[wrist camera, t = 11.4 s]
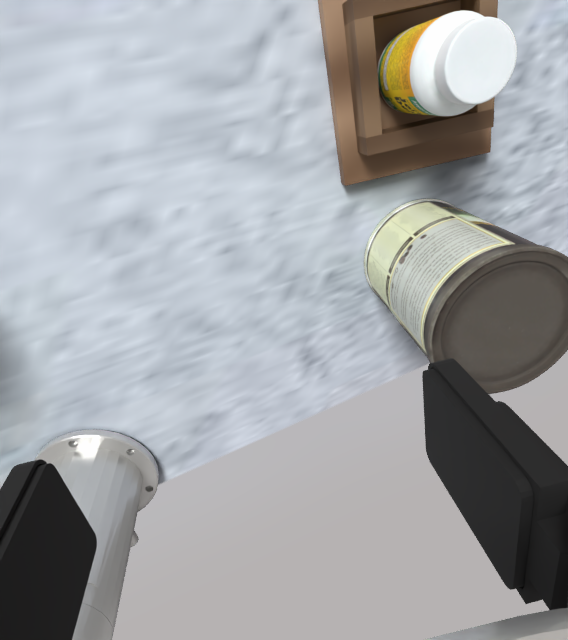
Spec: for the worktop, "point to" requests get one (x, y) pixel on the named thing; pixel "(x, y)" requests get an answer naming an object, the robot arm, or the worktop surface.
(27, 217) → the worktop surface
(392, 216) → the coffee can
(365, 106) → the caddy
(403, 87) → the supplement bottle
